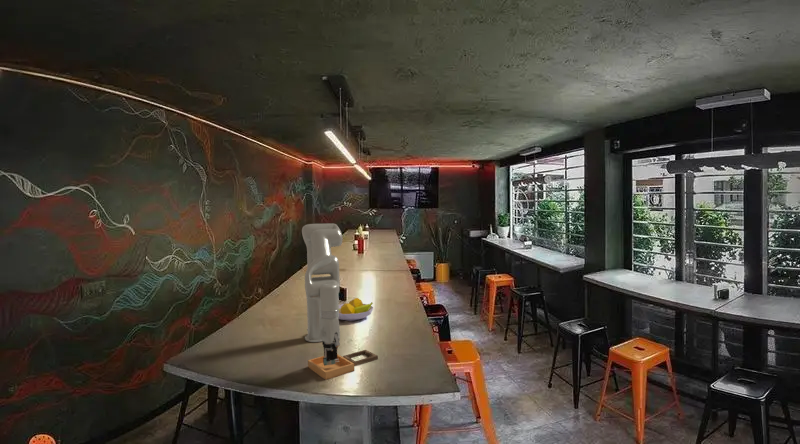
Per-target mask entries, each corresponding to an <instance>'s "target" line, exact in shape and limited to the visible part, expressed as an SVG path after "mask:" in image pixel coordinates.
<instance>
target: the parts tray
mask: <svg viewBox="0 0 800 444" xmlns="http://www.w3.org/2000/svg"><path fill="white" fill-rule="evenodd" d="M323 358H324V355H322V356H318V357H315V358H311V359H308V360H307V367H308V368H309V370H311V371H312V372H314V373H315V374H317V375H318V376H320V377H321V378H323V379H324V380H325V381H327V380H331V379H333V378H336V377H340V376H343V375H346V374H349V373H353V372H355V371H356V369H355V366H354V363H352V362H350V361H349V360H347V359H345V358H344V357H343V355H342V356H341V354H338V353H337V359H339V360H335V361H337V362H335V364H332V365H325V366H324V364H323ZM338 361H339V362H338Z"/></svg>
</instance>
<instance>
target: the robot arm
mask: <svg viewBox="0 0 800 444" xmlns="http://www.w3.org/2000/svg"><path fill="white" fill-rule="evenodd" d="M301 234H302V238H303V241H304V244H305V246H306V252H307V253H306V259H307V269H306V270H305V274H304V289H305V291H304V292H305V297H306V308H307V309H306V310H307V312H306V313H307V315H306V316H307V329H306V330H307V335H305V336H304V340H305V341H306V342H310V343H321V342H322V343H323V342H326V343H328V344H330V360H334V359H337V354H338V350H339V346H340V345H341V344H340V343H341V342H340V340H341V331H340V321H339V320H340V319H338V318H339V305H340V303H339V302H340V301H339V299H340V298H339V293H340V288H341V287H340V285H341V284H340V283H341V282H340V280H341V279H340V260H339V258H338V257H337V256H336V255H333V254H332V248H333V247H334V248H336V247H341V246H342V244H343V240H344V239H343V234H342V231H341V229H340V227H339V226H338V224H336V223H329V222H328V223H307V224H305V225H303V226H302V229H301ZM331 247H332V248H331ZM312 275H313V276H314V277H312ZM315 275H316V276H315ZM319 275H320V276H319ZM321 275H329V276H321ZM333 341H335V342H333ZM332 344H335V345H333V346H332ZM326 353H327V349H326ZM323 356H325V348H324V347H323Z"/></svg>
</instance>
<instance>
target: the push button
mask: <svg viewBox="0 0 800 444" xmlns="http://www.w3.org/2000/svg"><path fill="white" fill-rule="evenodd" d="M333 342H335V341H333ZM333 345H335V344H332V346H333ZM322 348H323V349H324V348H325V356H324V355H323V356H324V358H323V364H324V366H325V365H332V364H335V362H337V361H335V360H339V359H334V360H330V344H328V343H326V342H323V341H322ZM326 349H327V353H326ZM338 362H339V361H338Z"/></svg>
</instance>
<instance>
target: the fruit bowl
mask: <svg viewBox="0 0 800 444" xmlns="http://www.w3.org/2000/svg"><path fill="white" fill-rule="evenodd" d="M373 304H374V303H373V302H371V303H368V304H367V303H363V301H362V300H361V299H360V298H359V297H355V298H353V299H352V300H349V301H348V302H347V303H342V304H339V318H338V320H341V321H347V322H354V321H357V320H361V319H362V320H363V319H364V318H367V317H368V316H370V315H371V314H372V312H373V310H374V307H375V306H372V305H373Z"/></svg>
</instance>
